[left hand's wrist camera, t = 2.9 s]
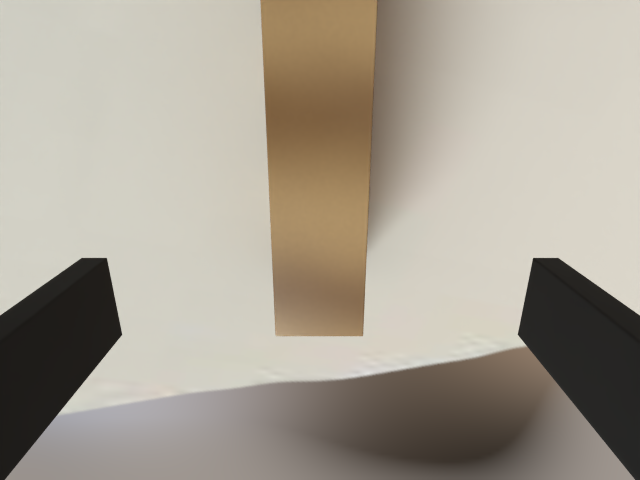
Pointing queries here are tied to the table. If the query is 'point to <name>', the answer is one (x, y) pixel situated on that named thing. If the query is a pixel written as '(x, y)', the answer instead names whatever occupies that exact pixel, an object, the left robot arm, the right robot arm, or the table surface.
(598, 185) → the table surface
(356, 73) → the beam
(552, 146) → the table surface
